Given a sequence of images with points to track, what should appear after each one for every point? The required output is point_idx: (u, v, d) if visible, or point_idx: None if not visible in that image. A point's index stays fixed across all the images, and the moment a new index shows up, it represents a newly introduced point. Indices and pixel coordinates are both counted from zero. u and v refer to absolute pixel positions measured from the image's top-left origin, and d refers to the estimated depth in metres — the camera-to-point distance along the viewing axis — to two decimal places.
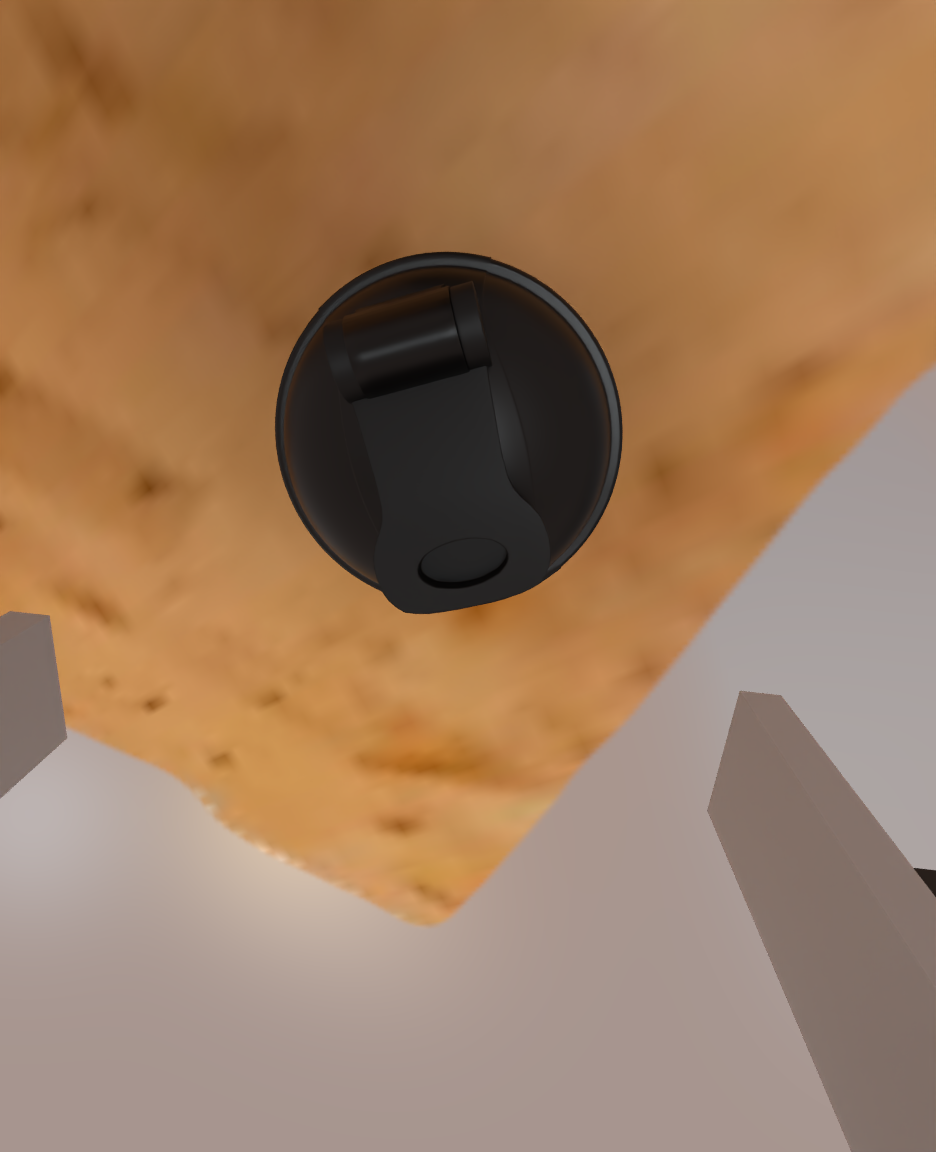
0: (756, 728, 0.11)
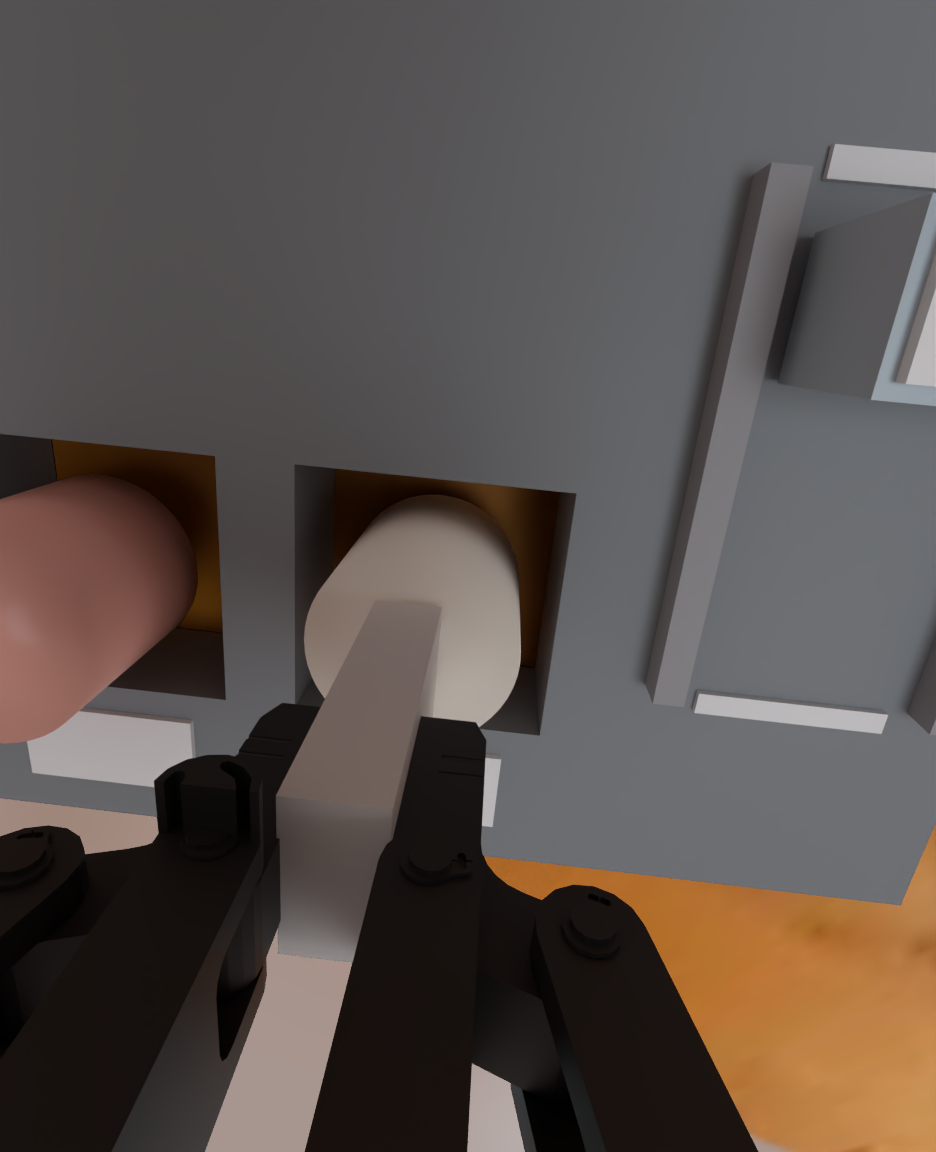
0: (401, 628, 0.13)
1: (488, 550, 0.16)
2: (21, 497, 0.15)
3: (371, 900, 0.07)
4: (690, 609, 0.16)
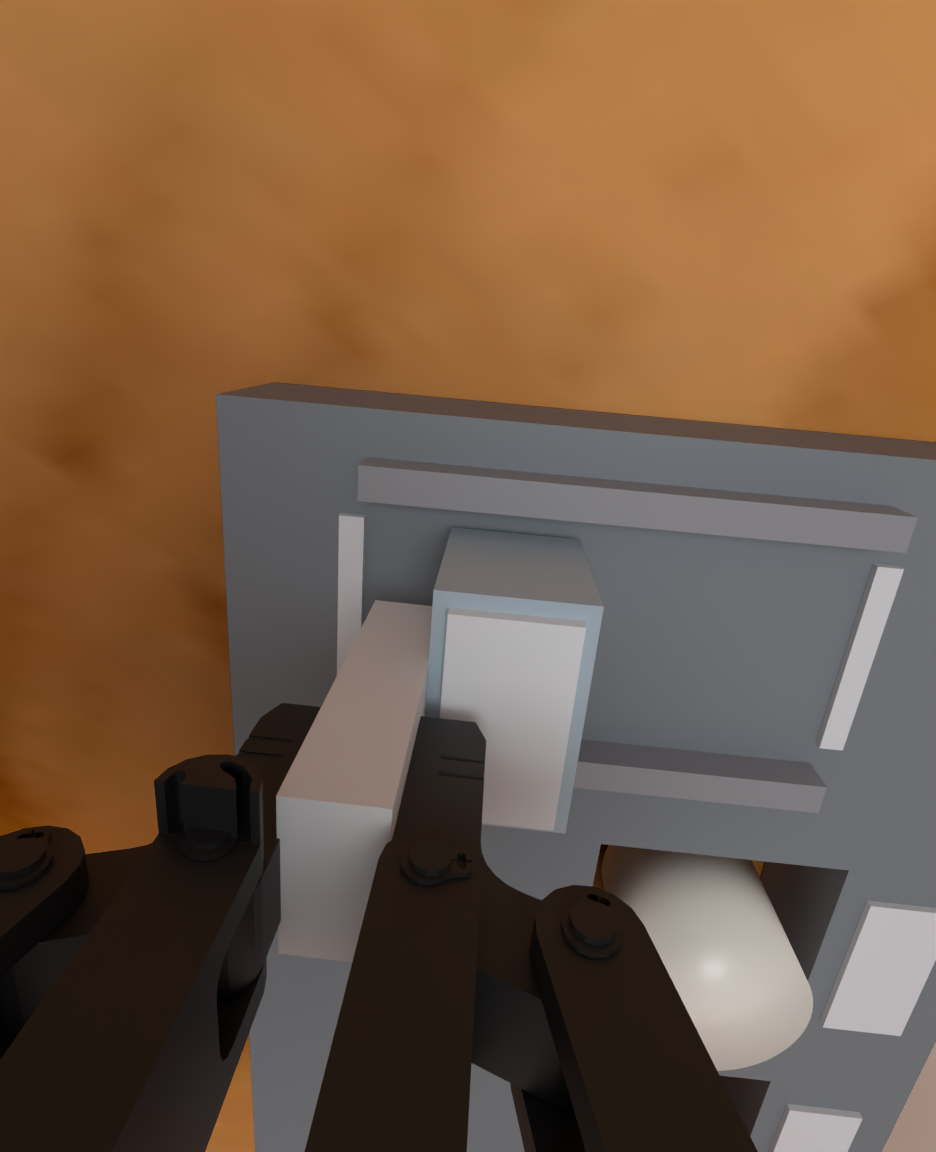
0: (401, 629, 0.13)
1: (641, 903, 0.19)
2: None
3: (371, 900, 0.07)
4: (715, 789, 0.16)
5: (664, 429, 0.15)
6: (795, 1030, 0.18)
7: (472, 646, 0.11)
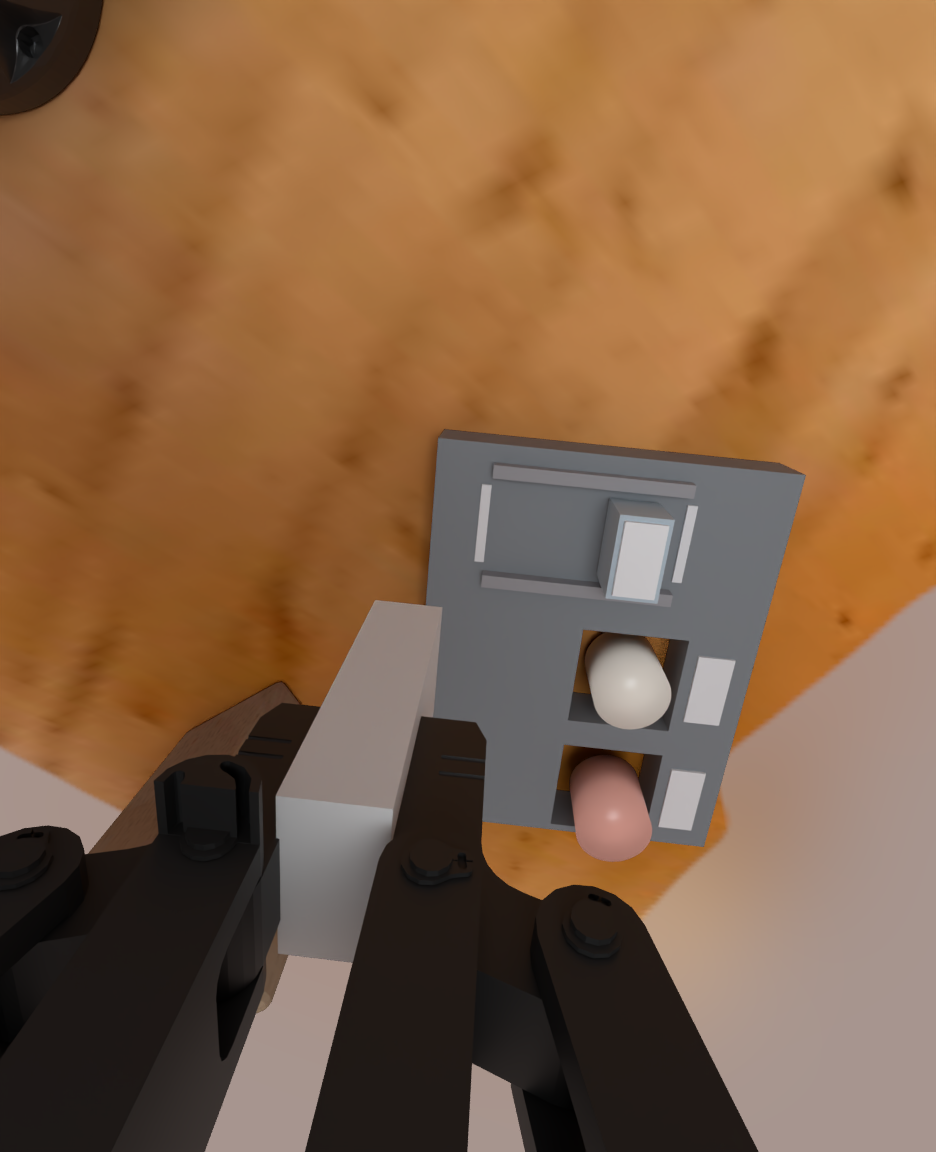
0: (401, 628, 0.13)
1: (601, 659, 0.43)
2: (572, 806, 0.46)
3: (371, 900, 0.07)
4: None
5: (608, 452, 0.40)
6: (664, 706, 0.42)
7: (632, 532, 0.36)
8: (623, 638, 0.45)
